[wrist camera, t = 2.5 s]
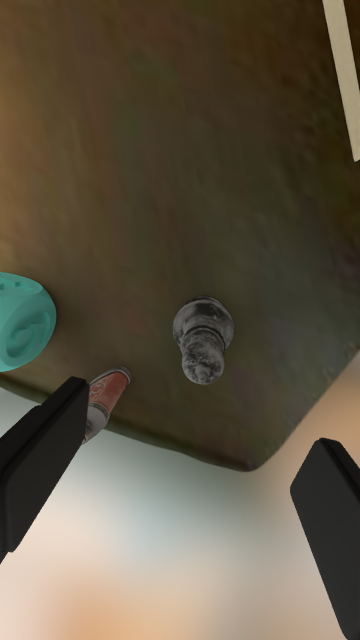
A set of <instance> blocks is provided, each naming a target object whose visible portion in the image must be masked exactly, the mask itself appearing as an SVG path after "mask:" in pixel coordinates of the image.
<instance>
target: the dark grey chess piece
mask: <svg viewBox="0 0 360 640" xmlns="http://www.w3.org/2000/svg"><path fill="white" fill-rule="evenodd" d="M173 335H174V338H175V340H176V343H177V344H178V345H179V347H180V348H181V352H182V354H183V359H182V367H183V370H184V373H185V375H186V376H187V377H188V378H189V379H190V380H191V381H193V382H195V383H198V384H210V383H213V382H215V381H216V380H217V379H219V378H220V376H221V375H222V372H223V369H224V359H223V356H224V354H225V350H226V348H227V347H228V346H229V344H230V342H231V341H232V338H233V335H234V323H233V320H232V317H231V316H230V314H229V313H228V311H227V310H226V309H225V308H224V307H223V305H222V304H221V303H220V302H219V301H217V300H216V299H214V298H212V297H207V296H198V297H195V298H192V299H191V300H189V301H188V302H187V303H186V304H185V305H184V306H183V308H182V309H181V310H180V311H179V312H178V313H177V315H176V317H175V319H174V323H173Z"/></svg>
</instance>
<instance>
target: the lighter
mask: <svg viewBox="0 0 360 640" xmlns="http://www.w3.org/2000/svg"><path fill="white" fill-rule="evenodd" d="M131 378H132V377H131V373H130V372H129V371H128V370H127V369H126V368H124V367H116V368H113V369H111V370H109V371H106V372H105V373H103V374H101V375H100V376H98V377H97V378H96V379H94V380H93V381H92V382H91V383H90V384H89V385H90V392H89V402H88V413H87V423H86V433H85V438H84V440H83V442H82V444H84V443H86V442H87V441H89V440H90V439H91V438H93V437H94V436H96V435H97V434H98V433H99V432H100V430H102V429H103V428H104V427H105V425H106V423H107V422H108V420H109V414H110V412H111V411H112V409H113V407H114V406H115V404H116V402H117V400H118V399H119V397H120V395H121V394H122V392H123V390H124V389H125V388H126V387H127V386H128V385H129V383H130V381H131ZM82 444H81V445H82Z"/></svg>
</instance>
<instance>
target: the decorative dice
mask: <svg viewBox="0 0 360 640" xmlns="http://www.w3.org/2000/svg"><path fill="white" fill-rule="evenodd" d="M55 324H56V308H55V305H54V303H53V300H52V299H51V297H50V295H49V294H48V292H47V291H46V290H45V289H44V288H43V287H42V286H41V285H40V284H39V283H38V282H36V281H34V280H32V279H29V278H26V277H23V276H19V275H15V274H10V273H4V272H0V372H4V371H8V370H12V369H15V368H18V367H21V366H23V365H25V364H27V363H28V362H30V361H32V360H33V359H34V358H35V357H37V356H38V355H39V354H40V353H41V351H42V350H43V349H44V348H45V346H46V345H47V343H48V342H49V340H50V338H51V336H52V334H53V331H54V328H55Z"/></svg>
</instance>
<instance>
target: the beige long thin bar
mask: <svg viewBox="0 0 360 640" xmlns="http://www.w3.org/2000/svg"><path fill="white" fill-rule="evenodd" d="M322 1H323V6H324V11H325V16H326V21H327V26H328V31H329V36H330V41H331V46H332V51H333V56H334V61H335V66H336V71H337V77H338V82H339V87H340V92H341V97H342V102H343V107H344V112H345V117H346V122H347V127H348V132H349V137H350V142H351V147H352V153H353V158H354V162H355V161H358V160H360V93H359V87H358V81H357V76H356V70H355V65H354V59H353V53H352V48H351V42H350V37H349V31H348V25H347V20H346V14H345V9H344V3H343V0H322Z"/></svg>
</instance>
